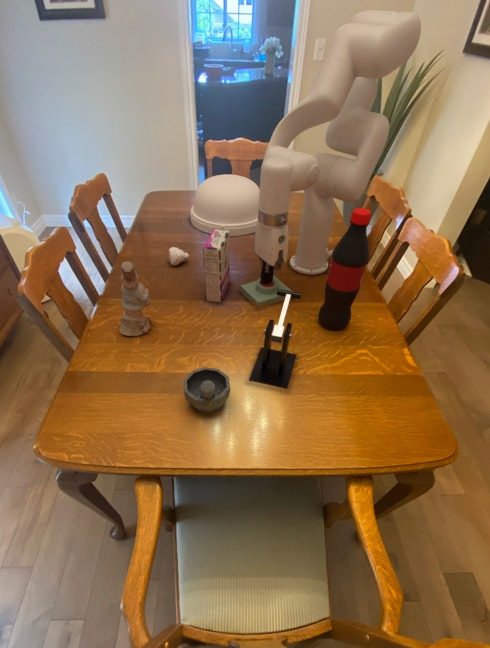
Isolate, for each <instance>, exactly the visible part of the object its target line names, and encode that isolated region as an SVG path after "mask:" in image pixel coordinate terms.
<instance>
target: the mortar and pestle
mask: <svg viewBox="0 0 490 648" xmlns="http://www.w3.org/2000/svg"><path fill="white" fill-rule="evenodd" d="M183 394H184V397H185V400H186V401H187V402H188V403H189V404H190V405H191V406H192V407H194V408H195V409H196V410H197V411H199V412H200V413H205V414H212V413H214V412H217V411H218V410H219V409H220V408H222V406H223V405H225V402H226V401H227V400H228V398H229V397H230V394H231V383H230V378H229V375H227V374H226V373H224V372H223V371H222V370H221V369H220V368H213V367H207V366H206V367H205V366H204V367H201V368H197V369H194V370H191V371H190V372H189V373H188V374H187V376H186V377H185V378H184V379H183Z"/></svg>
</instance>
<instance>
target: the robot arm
mask: <svg viewBox="0 0 490 648" xmlns="http://www.w3.org/2000/svg"><path fill="white" fill-rule="evenodd" d="M421 33H422V21H421V18H420V17H419V15H418V14H417V13H415V12H412V11H401V10H400V11H398V10H384V9H383V10H381V9H368V10H367V9H366V10H361V11H360V12H357V13H356V14H355V15H354V16H353V17H351V20H350V22H349V23H345V24H343V25H341V26H340V27H338V29H337V30H336V31H335V33H334V34H333V36H332V38H331V40H330V42H329V45H328V47H327V49H326V52H325V54H324V56H323V59H322V61H321V63H320V65H319V68H318V71H317V73H316V75H315V78H314V80H313V82H312V85H311V87H310V89H309V91H308V94H307V95H306V97H305V98H304V99H302V100H301V101H300V102H299V103H297V104H296V105H295V106H293V108H292V109H290V111H288V112H287V114H286V115H284V117H283V118H281V120H280V121H279V122H278V124H277V125H276V127H275V128H274V129H273V132H272V134H271V137H270V140H269V142H268V144H267V147H266V149H265V152H264V155H263V159H262V163H261V167H260V178H259V189H260V193H259V208H258V221H257V226H256V232H254V243H253V251H254V253H255V254H256V256H257V257H258V259H259V262H260V269H261V271H260V278H261V283H263V284H264V285H265V284H268V283H272V282H273V276H274V273H275V272H280V271H282V264H286V263H287V261H288V255H289V237H290V236H289V235H290V234H289V225H288V217H289V209H290V203H291V195H292V193H293V192H301V191H303V201H302V210H301V216H300V222H299V229H298V237H297V244H296V249H295V254H294V255H293V256H291V258H290V259H289V266H290V268H291V269H292V270H293V271H295V272H296V273H299V274H301V275H302V274H303V275H306V276H307V275H309V276H314V275H320V274H323V273H325V272H326V271H327V270H328V268H329V261H328V259H329V258H330V257H331V258H332V253H333V250H334V249H331V250H330V249H329V248H328V245H329V240H330V236H331V231H332V226H333V222H334V217H335V210H336V207H335V200H339V201H342V202H346V203H354V202H357V201H358V200H359V199H360V198H361V196H363V193H364V191H365V190H366V187H368V184H369V181H370V180H371V177H372V176H373V173H374V171H375V169H376V166H377V164H378V162H379V160H380V158H381V156H382V154H383V152H384V149H385V147H386V144H387V142H388V138H389V133H390V122H389V121H390V120H389V119H388V118H387V116H386V115H384V114H382V113H379V112H374V111H371V110H372V107H373V105H374V103H375V100H376V98H377V96H378V95H377V94H378V81H377V80H379V79H382V78H385V77H387V76H388V75H389V74H392V73H393V72H394V71H396V70H397V69H399V68H401V67H402V66H403V65H405V64H406V63H407V62H408V61H409V60H410V59H411V57H412V56H413V54H414V53H415V51H416V49H417V47H418V44H419V41H420V38H421ZM326 123H329V124H328V127H327V130H326V132H325V144H326V146H327V147H328V148H329V149H331V150H333V151H335V152H338V153H341V154H345V155H350V156H354V157H356V158H355V159H353V158H348V157H344V156H341V155H337V154H333V153H328V152H318V153H314V154H313V155H312V154H311V153H307V152H304V151H303V152H302V151H298V150H296V149H292V148H289V147H290V145H291V143H292V142H293V141H294V140H295V139H296V138H297V137H298V136H299V135H300V134H302V133H304V132H305V131H307V130H310V129H312V128H314V127H317V126H320V125H323V124H326ZM334 199H335V200H334Z"/></svg>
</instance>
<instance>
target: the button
mask: <svg viewBox="0 0 490 648" xmlns="http://www.w3.org/2000/svg"><path fill="white" fill-rule="evenodd" d="M261 285H262V286H264V287H271V286H273V282H272V283H268V284H265V285H264V284H263V283H261Z"/></svg>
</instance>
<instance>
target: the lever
mask: <svg viewBox="0 0 490 648" xmlns="http://www.w3.org/2000/svg"><path fill="white" fill-rule="evenodd" d="M302 294H303V293H302V292H298V291H293V290H292V291H288V290H282V289H278V290H277V295H278V296H284V297H285V300H284V301H283V304H282V309H281V312H280V315H279V318H278V322H277V324H274V326H273V332H272V342H274V343H280V344H282V343H283V337H284V333H285V329H286V326H284V324H285V321H286V317H287V313H288V309H289V306H290V302H291V299H296V300H301V298H302Z"/></svg>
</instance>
